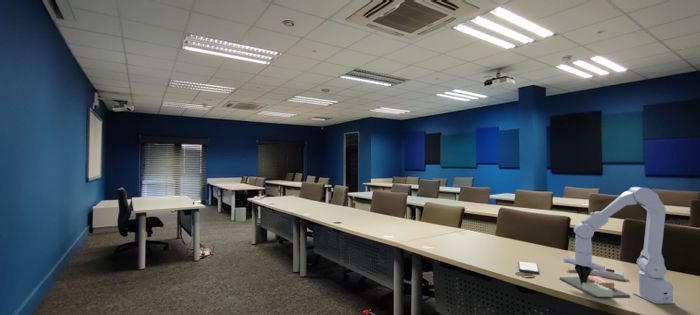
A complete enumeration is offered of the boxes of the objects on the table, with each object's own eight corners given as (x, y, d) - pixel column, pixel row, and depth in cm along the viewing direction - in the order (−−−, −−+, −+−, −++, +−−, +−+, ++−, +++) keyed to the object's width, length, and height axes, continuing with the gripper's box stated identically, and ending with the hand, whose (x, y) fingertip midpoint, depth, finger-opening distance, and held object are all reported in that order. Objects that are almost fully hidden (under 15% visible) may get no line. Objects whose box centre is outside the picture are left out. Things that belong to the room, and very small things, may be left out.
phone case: (518, 263, 170) (518, 272, 155) (518, 260, 170) (518, 269, 155) (537, 266, 166) (539, 275, 151) (537, 263, 166) (539, 272, 151)
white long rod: (565, 255, 164) (629, 266, 147) (565, 267, 164) (629, 278, 147) (563, 258, 159) (628, 269, 142) (563, 270, 159) (629, 282, 142)
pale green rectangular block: (612, 296, 124) (612, 290, 124) (598, 296, 124) (598, 290, 124) (596, 288, 132) (596, 282, 132) (582, 288, 132) (582, 282, 132)
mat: (629, 297, 126) (629, 295, 126) (594, 297, 126) (594, 295, 126) (589, 278, 146) (589, 277, 146) (559, 279, 146) (559, 277, 146)
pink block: (614, 288, 132) (614, 282, 132) (598, 289, 132) (598, 282, 132) (598, 281, 140) (598, 275, 140) (583, 281, 140) (583, 275, 140)
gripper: (607, 254, 132) (608, 287, 131) (568, 246, 144) (568, 276, 143) (601, 257, 128) (601, 290, 127) (561, 249, 140) (561, 279, 139)
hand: (583, 283), depth 135 cm, fingers closed
